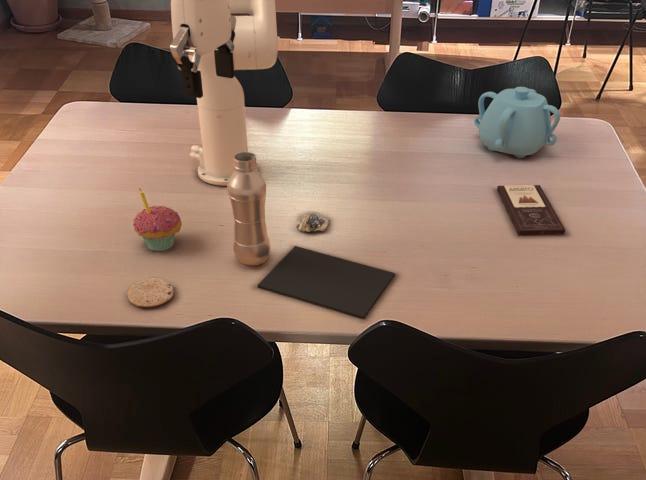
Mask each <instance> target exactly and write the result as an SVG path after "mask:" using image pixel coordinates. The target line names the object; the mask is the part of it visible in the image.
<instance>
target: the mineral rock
mask: <svg viewBox="0 0 646 480" xmlns="http://www.w3.org/2000/svg"><path fill="white" fill-rule="evenodd" d="M329 224H330V220H329V219H328V218H326V217H324V216H322V215H319V214H317V213H308V214H304V215H302V218H301V219H299V221H297V225H296V227H295V228H296V229H297V230H299V231H300V232H302V233H303V232H306V233H310V232H317V231H322V232H324V231H326V229H327V228H328V226H329Z"/></svg>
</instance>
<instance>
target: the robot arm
mask: <svg viewBox="0 0 646 480" xmlns="http://www.w3.org/2000/svg"><path fill="white" fill-rule="evenodd" d="M233 14H234V15H233ZM237 14H240V15H237ZM241 14H249V15H241ZM170 16H171V31H172V39H173V40H172V41H171V43H170V44H169V51H170V52H171V55H172V57H173V60H174V63H175V65H176V66H177V69H178V70H179V71H180V74H181V82H182V83H181V84H182V90H183V91H182V93H183V95H184V96H186V97H191V98H196V105H197V112H198V122H199V131H200V139H201V146H200V145H195V144H193V145H192V146H191V147H190V153H189V158H190V159H192V160H197V161H199V165H198V166H197V175H198V178H200V180H201V181H203V182H205V183H207V184H209V185H214V186H222V187H225V186H226V187H227V185H228V181H229V179H230V177H231V175H232V174H233V173H234V171H235V169H234V155H235V154H237V153H241V152H249V147H248V135H247V134H248V131H247V118H246V104H245V100H246V99H245V92H244V89H243V86H242V85H241V83H240V81H239V80H238V79H237V77H236V76H235V74H236V73H235V71H247V70H249V71H251V70H255V71H256V70H265V69H266V70H267V69H270V68H272V67H273V66H275V64H276V62H277V59H278V52H279V46H278V45H279V43H278V42H279V41H278V27H277V12H276V0H170Z"/></svg>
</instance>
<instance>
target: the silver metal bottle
mask: <svg viewBox="0 0 646 480" xmlns="http://www.w3.org/2000/svg"><path fill="white" fill-rule="evenodd" d="M234 169H235V171H234V173H233V174H232V175H231V177H230V179H229V181H228V185H227V186H226V189H227V193H228V196H229V201H230V205H231V210H232V215H233V222H234V223H233V228H234V229H233V230H234V235H233V245H232V246H233V247H232V249H233V253H234V256H235V258H236V260H238V261H239V262H240V263H241V264H243V265H245V266H259V265H262V264H264V263H265V262H267V261H268V259H269V258H270V256H271V249H272V247H271V241H270V238H269V236H268V228H267V222H266V198H267V183H266V181H265V179H264V177H263V176H262V174H261V173H260V172H259V171H258V170H257V169H258V162H257V155H256V154H255V153H253V152H249V151H248V152H241V153H237V154H235V155H234Z"/></svg>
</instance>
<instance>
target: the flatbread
mask: <svg viewBox="0 0 646 480" xmlns="http://www.w3.org/2000/svg"><path fill="white" fill-rule="evenodd" d="M173 296H174V288H173V286H172V284H171V283H169V281H167V280H166V279H162V278H158V277H150V278H146V279H143V280H140V281H136V282H134V283H132V285H131V286H130V288H129V289H128V290H127V298H128V301H129V302H130V303H131V304H133V305H134V306H137V307H141V308H149V307H156V306H157V307H158V306H160V305H163V304H165V303H166V302H168V301H170V300H171V299H172V298H173Z"/></svg>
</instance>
